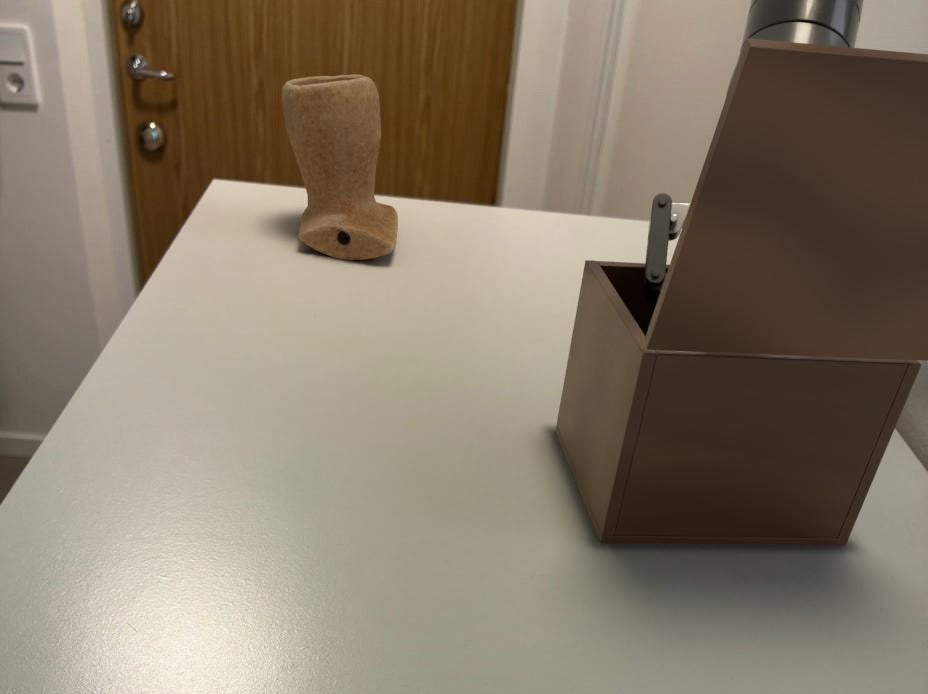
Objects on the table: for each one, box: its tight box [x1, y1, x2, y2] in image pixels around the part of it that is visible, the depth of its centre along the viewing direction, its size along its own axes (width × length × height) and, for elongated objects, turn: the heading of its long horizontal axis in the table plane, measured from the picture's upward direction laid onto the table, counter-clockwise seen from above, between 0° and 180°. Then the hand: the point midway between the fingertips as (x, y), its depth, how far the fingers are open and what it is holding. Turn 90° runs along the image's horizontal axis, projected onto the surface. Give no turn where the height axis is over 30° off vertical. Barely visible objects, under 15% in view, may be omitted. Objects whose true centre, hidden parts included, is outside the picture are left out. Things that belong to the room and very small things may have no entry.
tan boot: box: [281, 74, 399, 261], centre depth 97 cm, size 15×12×15 cm
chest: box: [554, 259, 922, 546], centre depth 65 cm, size 15×17×13 cm
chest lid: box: [644, 39, 928, 362], centre depth 48 cm, size 16×17×1 cm
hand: (726, 373), depth 62 cm, fingers closed on pill bottle, 6 cm apart
